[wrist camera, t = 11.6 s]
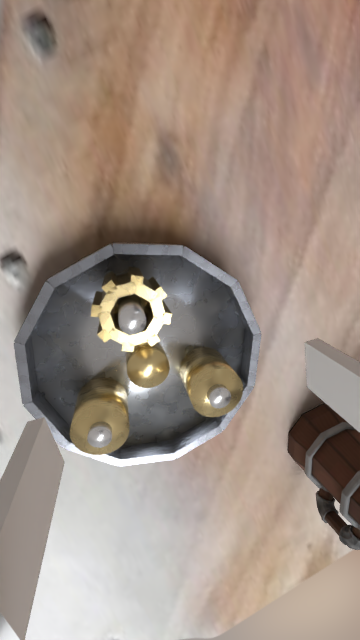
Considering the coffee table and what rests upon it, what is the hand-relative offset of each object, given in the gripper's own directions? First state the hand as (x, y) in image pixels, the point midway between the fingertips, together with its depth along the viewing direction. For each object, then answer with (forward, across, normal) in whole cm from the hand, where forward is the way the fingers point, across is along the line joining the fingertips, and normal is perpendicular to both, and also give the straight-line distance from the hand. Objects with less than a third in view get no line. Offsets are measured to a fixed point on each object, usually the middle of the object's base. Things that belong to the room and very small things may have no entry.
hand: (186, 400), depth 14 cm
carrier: (+22, -2, -7) cm, 23 cm away
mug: (+22, +21, -31) cm, 44 cm away
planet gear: (+20, -2, 0) cm, 20 cm away
